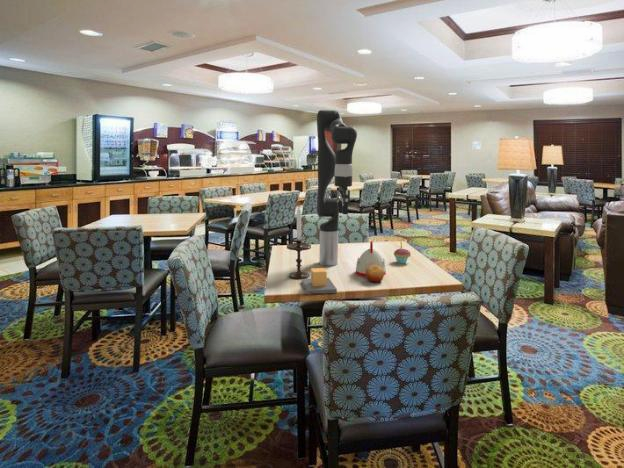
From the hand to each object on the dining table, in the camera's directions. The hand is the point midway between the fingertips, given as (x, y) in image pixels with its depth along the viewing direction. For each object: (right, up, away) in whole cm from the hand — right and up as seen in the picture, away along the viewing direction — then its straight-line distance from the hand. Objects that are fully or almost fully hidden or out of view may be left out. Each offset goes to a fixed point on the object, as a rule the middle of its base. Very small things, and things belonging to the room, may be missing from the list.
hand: (342, 212), depth 186 cm
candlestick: (-19, -29, +11) cm, 36 cm away
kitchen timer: (+14, -28, +16) cm, 35 cm away
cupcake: (+33, -24, +36) cm, 55 cm away
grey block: (-10, -32, -5) cm, 34 cm away
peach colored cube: (-10, -30, -5) cm, 32 cm away
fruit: (+14, -30, +4) cm, 34 cm away
